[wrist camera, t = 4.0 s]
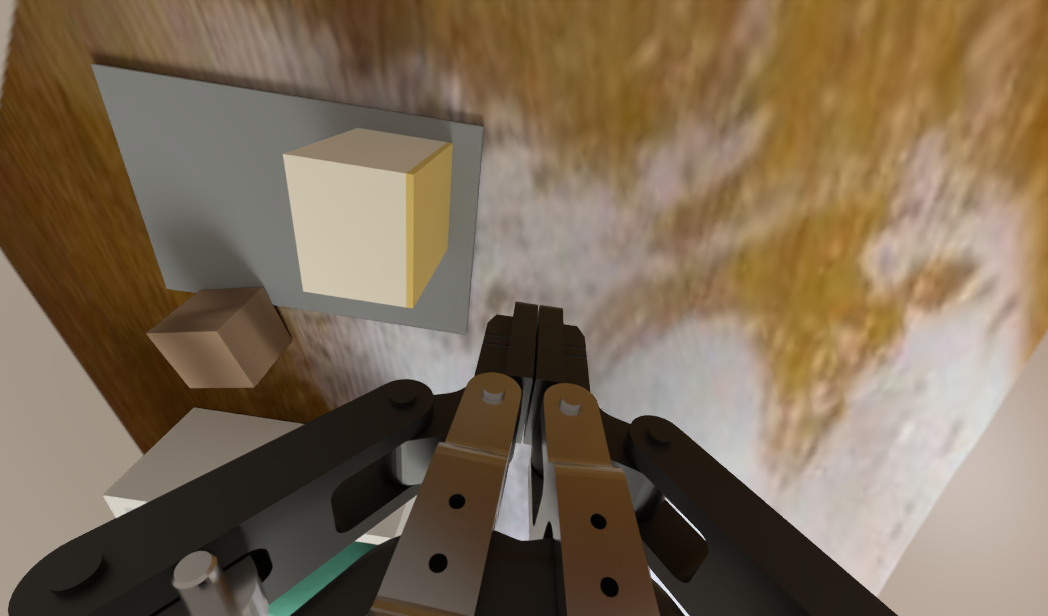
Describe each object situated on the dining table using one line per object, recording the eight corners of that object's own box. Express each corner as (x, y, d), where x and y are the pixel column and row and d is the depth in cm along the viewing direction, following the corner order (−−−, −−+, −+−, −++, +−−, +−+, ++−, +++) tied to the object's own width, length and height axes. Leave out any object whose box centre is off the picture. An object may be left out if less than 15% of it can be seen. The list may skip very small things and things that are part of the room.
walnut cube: (262, 287, 27) (216, 331, 24) (292, 340, 30) (254, 387, 26) (200, 289, 28) (145, 333, 24) (234, 341, 30) (189, 388, 27)
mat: (484, 125, 22) (483, 127, 22) (466, 331, 29) (465, 334, 28) (98, 64, 22) (91, 64, 21) (171, 285, 28) (166, 288, 28)
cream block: (452, 142, 22) (413, 174, 16) (447, 248, 25) (413, 308, 19) (357, 127, 22) (282, 154, 16) (364, 235, 25) (303, 291, 19)
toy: (175, 549, 34) (307, 652, 38) (194, 569, 27) (352, 693, 31) (281, 450, 41) (383, 547, 45) (317, 446, 34) (434, 561, 38)
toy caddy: (426, 442, 34) (394, 538, 28) (422, 567, 44) (398, 661, 37) (193, 407, 34) (102, 495, 27) (241, 540, 44) (183, 629, 37)
